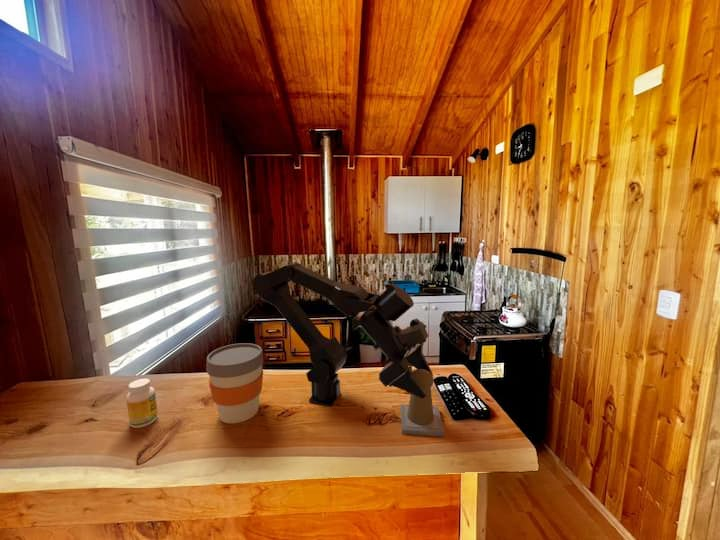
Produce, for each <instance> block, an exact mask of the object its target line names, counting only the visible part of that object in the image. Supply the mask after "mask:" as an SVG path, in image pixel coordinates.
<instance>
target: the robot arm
mask: <svg viewBox="0 0 720 540" xmlns="http://www.w3.org/2000/svg"><path fill="white" fill-rule="evenodd" d="M290 282H293V283H294V284H297V285H299V286H301V287H303V288H305V289H307V290H309V291H311V292H313V293H315V294H318V295H320V296H321V297H324V298H326V299H327V300H328V301H330V302H331V304H332V305H333V307H335V308H336V309H337V310H338V311H339V312H341V313H343V314H344V315H345V316H348V317H353V316H354V317H353V318H352V326H351V329H352V331H356V330H357V329H358V328H359V327H360V328H361V329H362V330H364V331H363V332H365V333H366V335H367V336H368V337H369V338H370V339H371V340H372V341H373V342H374V345H373V349H375V351H376V350H378V349H379V350H380V351H381V352H382V353H383V355H385V358H386V359H385V360H384V361H385V362H386V364H385V365H384V366H383V368H382V369H381V370H380V372H379V373H378V381H380V383H382V384H383V386H384V387H385V388H387V386H389V387H395V388H397V389H400V390H402V391H405V392H406V393H410V395H411V394H413V395H416V396H418V397H420V398H424V397H426V394H425V392H424V391H423V389H422V388H421V386H420V385H419V384H418V382H417V381H416V379H415V378H414V376H413V375H412V372H413V368H415V370H417V369H424V370H427V371H429V372H430V373H431V374H432V376H433V377H434V373H433V371H432V370H431V366H430V365H429V364H428V361H427V359H426V357H425V355H424V352H423V351H424V343H426V342H427V340H428V338H429V334H428V331H427V330H426V329H427V325H426V324H424V321H421V320H419V319H418V318H413V319H411V320H410V321H409V326H407V327H405V328H403V329H402V328H401V327H400V326H398V325H395V326H393V325H392V324H391V322H396V321H397V320H398V319H399V318H401V317H402V316H403V315H404V314H405V313H407V311H409V310H410V309H411V308H412V307H414V305H415V303H414V301H413V298H412V297H411V295H410V294H409V293H408V292H407V291H405V290H404V289H403V288H401V287H399V286H397V285H396V284H395V283H391V284H389V285H388V286H387V287H386V289H385V290H384V291H383V292H381V294H377V293H374V292H369V291H368V290H367V289H366V288H365V287H361V286H357V285H355V284H350V283H349V284H348V283H342V282H338V281H335V280H334V279H330V278H328V277H326V276H324V275H323V274H320V273H318V272H315V271H314V270H311V269H309V268H307V267H305V266H302V264H301V263H299V262H291V263H288V264H285V265H282V267H280V268H277V269H275V270H272V271H268V272H263V273H260V274H257V275H255V276H254V278H253V280H252V289H253V291H254V293H255V294H256V295H257V296H258V297H259V298H260V299H262V300H263V301H264V302H266V303H269V304H270V305H272V306H274V307H275V308H276V309H277V310H278V312H279V313H280V314H281V316H282V317H283V318H284V319H285V320H286V322H287V323H288V325H289V326H290V327H291V329H293V331H294V332H295V333H296V335H297V336H298V337H299V338H300V339H301V341H302V343H304V345H305V346H306V347H307V349H308V352H309V357H310V362H311V363H312V365H313V367H312V368H310V369H309V370H308V371H307V372H306V373H305V374H306V378H307V381H308V382H311V384H310V385H311V397H309V399H308V401H309V403H313V404H318V405H325V406H333V405H334V404H335V402H336V401H337V399H338V398H339V396H340V394H341V380H340V379H339V374H338V373H337V372H339V371H340V369H341V368H342V367H343V366H344V365H345V364H346V362H347V352H345V347H344V346H343V345H342V344H341V343H340V342H339V340H338V339H337V337H336V336H333V337H331V338H328V337H327V336H325V335H324V334H323V333H322V332H321V331H320V330H319V328H318V327H317V326H316V324H315V323H314V322H313V321H312V320H311V318H310V317H309V316H308V314H307V313H306V311H304V310H303V308H302V306H300V304H299V303H298V302H297V301H296V300H295V297H293V296H292V295H291V291H290V285H289V283H290ZM373 307H375V308H374V309H373V310H370V309H372V308H373ZM361 312H363V313H362V314H361V315H360V316H356V315H359V314H360V313H361ZM390 321H391V322H390Z"/></svg>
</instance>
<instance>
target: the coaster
mask: <svg viewBox="0 0 720 540" xmlns="http://www.w3.org/2000/svg"><path fill="white" fill-rule="evenodd" d="M408 408H409V404H400V420H401V434H404V435H419V436H434V437H445V432H446V431H445V429H444V425H443V421H442V416H441V414H440V410H439V409H440V408H439V406H436V405H435V406H433V415H434V420H433V422H432V423H430V424H428V425H418V424H415V423H413V422H411V421H410V420H409V419H408V417H407V413H408Z"/></svg>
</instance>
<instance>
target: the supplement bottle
mask: <svg viewBox="0 0 720 540" xmlns="http://www.w3.org/2000/svg"><path fill="white" fill-rule="evenodd" d="M127 388H128V393H127V394H126V397H125V398H126V399H125V400H126V407H127V415H128V420H129V426H131V427H132V428H135V429H140V428H143V427H147V426H149V425H151V424H153V423H154V422H155V421H156V420H157V419H158V415H159V413H158V403H157V397H156V390H155V388H154V387H152V386H151V380H150V379H149V378H139V379H136V380H134V381H131V382H130V383H128V387H127Z"/></svg>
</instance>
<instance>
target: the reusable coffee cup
mask: <svg viewBox="0 0 720 540" xmlns="http://www.w3.org/2000/svg"><path fill="white" fill-rule="evenodd" d="M263 363H264V355H263V349H262V347H261V346H260V345H258V344H255V343H250V342H249V343H247V342H246V343H245V342H244V343H243V342H242V343H233V344H228V345H225V346H221V347H219V348H215V349H214V350H213V351H211V352H210V353H209V354H208V355H207V357H206V365H205V366H206V369H205V370H206V374H208V377H209V380H208V384H209V389H210V393H211V394H210V395H211V396H212V401H213V402H214V403H215V404H216V409H217V412H218V417H219V420H220V421H221V422H223V423H226V424H239V423H243V422H245V421H248V420H250V419H251V418H253V417H254V416H256V414H257V413H258V411H259V408H260V395H261V394H260V393H261V392H262V389H263V379H264V370H263V368H262V366H263Z"/></svg>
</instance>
